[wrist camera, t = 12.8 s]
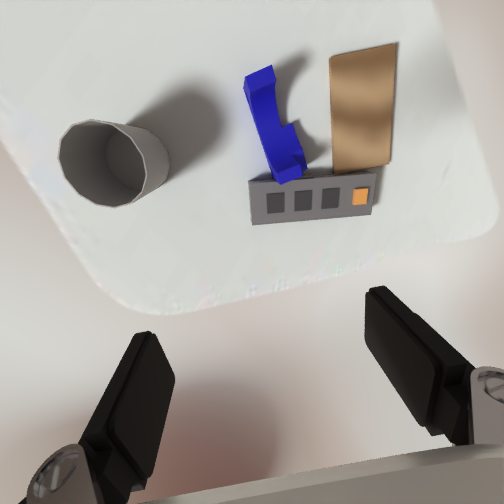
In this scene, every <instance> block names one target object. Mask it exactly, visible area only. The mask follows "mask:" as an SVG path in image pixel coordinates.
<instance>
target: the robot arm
mask: <svg viewBox="0 0 504 504" xmlns="http://www.w3.org/2000/svg"><path fill="white" fill-rule="evenodd" d="M365 342H366V345H367V347H368V348H369V350H370V351H371V353H372V354H373V356H374V357H375V359H376V360H377V362H378V363H379V365H380V366H381V368H382V370H383V371H384V373H385V374H386V376H387V377H388V379H389V380H390V382H391V383H392V385H393V386H394V388H395V389H396V391H397V392H398V394H399V395H400V397H401V398H402V400H403V401H404V403H405V404H406V406H407V407H408V409H409V410H410V412H411V414H412V415H413V416H414V418H415V420H416V421H417V422H418V424H419V425H420V426H422V427H424V426H425V427H426V429H427V430H428V432H429V433H430V435H431V436H436V435H441V434H445V436H446V437H447V438H448V440H449V441H450V442H451V443H452V447H445V448H439V449H432V450H426V451H419V452H413V453H407V454H401V455H395V456H389V457H384V458H379V459H373V460H367V461H362V462H356V463H350V464H345V465H339V466H334V467H328V468H322V469H317V470H311V471H306V472H301V473H296V474H290V475H284V476H279V477H273V478H268V479H263V480H258V481H252V482H247V483H241V484H236V485H231V486H226V487H220V488H215V489H210V490H204V491H199V492H194V493H189V494H184V495H178V496H173V497H168V498H163V499H158V500H153V501H149V502H144V503H140V504H504V370H503V369H500V368H495V367H479V368H475V367H474V366H473V365H472V364H470V363H469V361H467V360H466V359H465V358H464V357H463V356H462V355H461V354H460V353H459V352H458V351H456V349H454V348H453V347H452V346H451V345H450V344H449V343H448V342H447V341H446V340H445V339H444V338H443V337H441V335H439V334H438V333H437V332H436V331H435V330H434V329H433V328H432V327H431V326H430V325H429V324H428V323H426V322H425V321H424V320H423V319H422V318H421V317H420V316H419V315H417V314H416V313H414V312H412V311H411V310H410V309H409V308H408V307H407V306H406V305H405V304H404V303H403V302H402V301H401V300H400V299H399V298H398V297H396V296H395V295H394V294H393V293H392V292H391V291H390V290H389V289H388V288H387V287H385V286H378V287H373V288H370V289H369V292H366V295H365ZM174 384H175V375H174V373H173V371H172V368H171V366H170V364H169V362H168V360H167V358H166V356H165V353H164V351H163V349H162V347H161V345H160V343H159V341H158V338H157V336H156V335H155V334H154V333H153V334H152V333H151V332H150V331H146V332H141V333H136V334H135V335H134V336H133V338H132V340H131V342H130V344H129V346H128V348H127V350H126V352H125V354H124V355H123V357H122V359H121V361H120V363H119V365H118V367H117V369H116V371H115V373H114V375H113V377H112V379H111V380H110V382H109V384H108V386H107V388H106V390H105V392H104V394H103V396H102V398H101V400H100V402H99V404H98V405H97V407H96V409H95V411H94V413H93V415H92V417H91V419H90V421H89V423H88V425H87V427H86V429H85V431H84V432H83V434H82V437H81V439H80V440H79V442H78V444H69V445H67V446H64V447H62V448H61V449H59V450H57V451H56V452H54V453H53V454H52V455H51V456H50V457H49V458H48V459H46V460H45V461H44V463H43V464H42V465H41V466H40V467H39V468H38V470H37V471H36V473H35V474H34V476H33V477H32V479H31V481H30V484H29V486H28V490H27V495H26V497H25V498H24V499H23V500H22V501H21V502H20V503H19V504H128V503H127V502H128V500H129V496H130V492H134V491H139V490H144V489H145V486H146V483H147V479H148V478H149V477H150V476H151V475H152V473H153V470H154V466H155V462H156V458H157V453H158V449H159V445H160V441H161V437H162V433H163V428H164V425H165V421H166V417H167V412H168V409H169V405H170V400H171V396H172V392H173V388H174Z"/></svg>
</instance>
